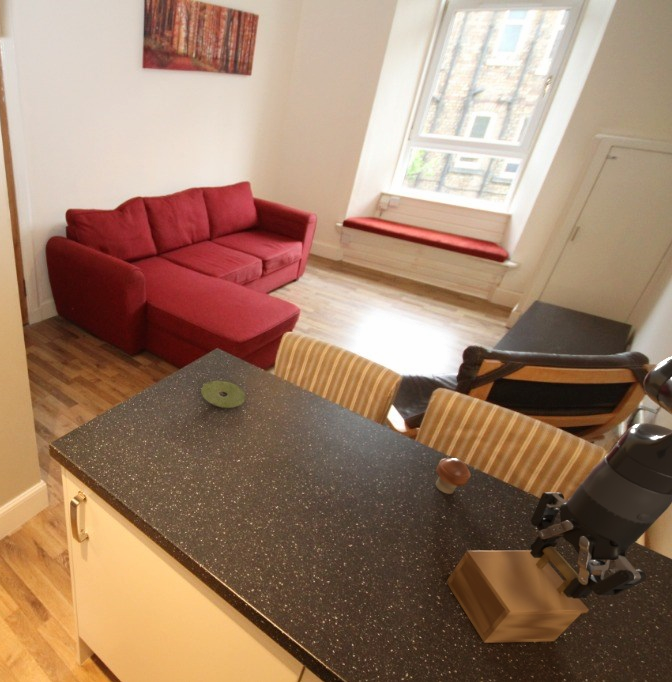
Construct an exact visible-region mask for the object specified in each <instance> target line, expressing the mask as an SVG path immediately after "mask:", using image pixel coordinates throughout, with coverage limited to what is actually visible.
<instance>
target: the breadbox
mask: <svg viewBox="0 0 672 682" xmlns="http://www.w3.org/2000/svg"><path fill="white" fill-rule="evenodd" d="M445 583H446V584H447V587H448V588H449V589H450V591H451V592H452V594H453V596H454V597H455V599H456V601H457V602H458V604H459V605H460V607H461V609H462V610H463V611H464V613H465V615H466V616H467V618H468V620H469V621H470V623H471V624H472V626H473V628H474V629H475V631H476V632H477V634H478V635H479V637H480V639H481V640H482V643H485V644H487V643H489V644H491V643H493V644H494V643H495V644H496V643H533V642H535V643H539V642H555V641H556V640H557V639H558V638H559V637H560V636H561V635H562V634H563V633H564V632H565V631H566V630H567V629H568V627H570V626H571V624H573V622H574V621H576V619H578V617H579V616H581V614H582V613H540V614H508V613H507V611H506V610H505V609H504V607H503V606H502V604H501V603H500V602H499V600H498V599H497V597H496V596H495V594H494V593H493V592H492V590H491V589H490V587H489V586H488V585H487V583H486V582H485V580H484V579H483V577H482V576H481V575H480V573H479V572H478V570H477V569H476V568H475V566H474V565H473V563H472V562H471V561H470V559H469V558H468V556H467V555H466V553H464V554H463V556H462V558H461V559H460V561H459V562H458V563H457V564H456V567H455V568H454V570H453V571H452V572H451V574H450V575H449V576H448V578H447V580H446V581H445Z"/></svg>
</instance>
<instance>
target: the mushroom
mask: <svg viewBox="0 0 672 682" xmlns="http://www.w3.org/2000/svg"><path fill="white" fill-rule="evenodd" d="M435 471H436V474H437V476H438V478H437V479H436V482H435V487H436V488H437V490H438V491H440V492H442V493H444V494H447V495H452V494H453V493H454V492H455V490H456V488H457V487H463V486H466V485H467V483H468V481H469V480H470V478H471V476H472V473H471V471H470V470H469V468H468V466H467V464H466V463H465V462H464V461H462V460H460V459H459V458H454V457H451V458H442V459H440V461H439V462H438V465H437V466H436V469H435Z"/></svg>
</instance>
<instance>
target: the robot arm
mask: <svg viewBox="0 0 672 682" xmlns="http://www.w3.org/2000/svg"><path fill="white" fill-rule="evenodd" d="M642 387H643V391H644V393H645V394H646V396H647V397H648V398H649V399H650V400H652V401H653V402H654V403H655V404H656V405H658V406H659V407H660V408H662V409H663V410H664V411H666V412H667V413H668V414H669V415H671V416H672V356H670V357H668V358H665V359H664V360H662V361H660V362H659V363H657V364H655V365H654V366H653V367H652V368H651V369H650V370H649V371H648V372H647V373H646V375H645V376H644V378H643V383H642ZM671 505H672V429H671V428H668V427H665V426H663V425H659V424H654V423H649V422H648V423H647V422H641V423H636V424H634V425H631V426H630V427H628V428H627V429H626V430H625V431H624V432H623V433H622V434H621V436H620V437H619V438H618V439H617V441H616V442H615V444H614V445H613V446H612V448H610V450H609V451H608V452H607V454H606V455H605V456H604V457H603V458H602V459H601V460H599V461H598V462H597V463H596V464H595V465H594V466H593V467H592V468H591V469H590V471H588V472H587V474H586V476H585V477H584V478H583V480H582V481H581V482H580V483H579V485H578V486H577V487H576V489H575V490H574V491H573V493H572V494H571V495H570V496H569V498H567V500H566V499H565V496H564V494H563V493H561V492H542V493H541V496H540V499H539V501H538V503H537V506H536V508H535V510H534V512H533V515H532V517H531V519H530V523H531V524H532V526H534V527H536V528H537V530H538V532H537V534H538V536H537V537H536V538H535V539H534V541H533V542H532V544H531V545H530V550H532V551H531V552H530V554H531V555H532V556H533V557H534V558H541V557H542V556H543V555H544V553H543V549H545V548H546V547H549V546H552V547H554V548H555V547H556V546H557V545H558V541H557V540H560V539H564V540H565V541H566V542H568V544H570V545H572V547H573V548H574V550H575V552H576V553H578V555H577V565H578V566H579V570H578V578H575V579H574V580H573V581H572V582H571V583H570V584H569V585H568V586H567V588H566V589H565V590H564V591H563V593H564V594H565V595H566V596H567V597H573V599H580V600H581V599H587V597H588V596H589V595H590V594H591V593H592V592H593V593H594V594H595V595H597V596H618V595H619V594H621V593H623V592H625V591H627V590H629V589H631V588H632V587H635V586H637V585H639V584H641V583H642V582H644V581H646V580H647V579H648V578H647V574H646V572H644V570H642V569H635V567H634V566H633V565H632V563H630V562H629V560H628V559H627V556H628V549H629V547H631V546H632V545H634V544H635V543H636V542H637V541H638V540H639V539H640V538H641V537H642V536H643V535H644V533H646V531H648V530H649V528H651V526H652V525H653V524H654V523H655V522H657V521H658V519H659V518H660V517H661V516H662V515H663V514H664V513H665V512H666V511H667V510H668V509H669V508H670V506H671ZM559 511H560V512H559ZM559 513H560V515H559V517H560V522H559V523H556V524H554V523H555V520H556V519H557V516H558V514H559ZM611 561H613V562H614V565H615V566H614V567H613V568H612V569H611V570H610V572H611V575H609V576H607V577H606V578H605V573H606V572H607V571H608V570H609V569H610V564H611Z"/></svg>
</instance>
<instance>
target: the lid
mask: <svg viewBox="0 0 672 682" xmlns="http://www.w3.org/2000/svg"><path fill="white" fill-rule="evenodd" d="M531 551H532V550H531V549H530V550H529V549H528V550H527V549H525V550H521V549H519V550H518V549H517V550H516V549H515V550H514V549H513V550H512V549H511V550H466V551H465V554H466V555H467V556H468V558H469V559H470V561H471V562H472V563H473V565H474V566H475V568H476V569H477V570H478V572H479V573H480V575H481V576H482V577H483V579H484V580H485V582H486V583H487V585H488V586H489V587H490V589H491V590H492V592H493V593H494V594H495V596H496V597H497V599H498V600H499V602H500V603H501V604H502V606H503V607H504V609H505V610H506V611H507V613H508V614H540V613H581V614H583V613H584V614H587V613H588V612H589V610H590V609H589V608H588V607H587V606H586V605H585V603H584V602H583V601H582V600H581V599H573V597H567V596H566V595H565V594H564V593H563V591H564V590H565V589H566V588H567V586H568V585H569V584H570V583H571V582H572V581H573V580H574V579H575V578H578V575H579V573H577V571H576V570H575V569H574V568H573V567H572V566H571V564H569V562H567V560H566V559H565V558H564V557H563V556H562V555H561V554H560V553H559V552H558V551H557V549H556V548H555V547H552V546H549V547H546V548H545V549H543V553H544V555H543V556H542V557H541V558H534V557H533V556H532V555H531V554H530V552H531ZM549 561H550V562H551V563H552V564H553V565H554V567H555V568H556V569H557V570H558V571H559V572H560V574H561V575H562V576H563V577H564V578H565V579H563V578H562V577H561V575H559V573H558V572H557V571H556V570H555V569H554V567H552V565H551V564H550V563H549Z"/></svg>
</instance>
